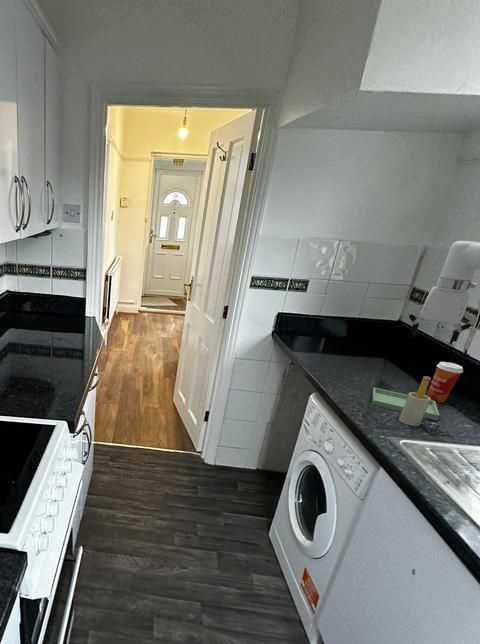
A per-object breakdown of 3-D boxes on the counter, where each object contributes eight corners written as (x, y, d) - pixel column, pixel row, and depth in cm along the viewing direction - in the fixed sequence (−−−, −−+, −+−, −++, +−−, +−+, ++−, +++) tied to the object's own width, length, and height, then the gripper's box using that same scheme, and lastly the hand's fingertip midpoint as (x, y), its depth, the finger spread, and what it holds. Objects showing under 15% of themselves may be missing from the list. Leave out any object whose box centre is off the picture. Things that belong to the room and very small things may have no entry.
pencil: (412, 421, 137) (430, 377, 130) (412, 423, 135) (431, 378, 129) (405, 420, 138) (423, 375, 131) (406, 422, 136) (424, 377, 130)
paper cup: (418, 393, 160) (433, 360, 154) (439, 395, 159) (455, 362, 153) (430, 402, 153) (446, 368, 147) (452, 405, 152) (469, 370, 146)
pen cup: (418, 422, 138) (429, 395, 134) (420, 429, 133) (431, 401, 129) (397, 417, 140) (408, 390, 136) (398, 424, 136) (409, 396, 132)
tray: (432, 405, 151) (435, 400, 150) (437, 420, 140) (439, 415, 139) (372, 392, 160) (373, 387, 159) (371, 405, 149) (373, 400, 148)
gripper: (490, 288, 121) (467, 343, 128) (419, 279, 131) (400, 331, 138) (491, 290, 116) (466, 348, 122) (416, 281, 126) (397, 335, 133)
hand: (431, 339), depth 130 cm, fingers open, 9 cm apart
